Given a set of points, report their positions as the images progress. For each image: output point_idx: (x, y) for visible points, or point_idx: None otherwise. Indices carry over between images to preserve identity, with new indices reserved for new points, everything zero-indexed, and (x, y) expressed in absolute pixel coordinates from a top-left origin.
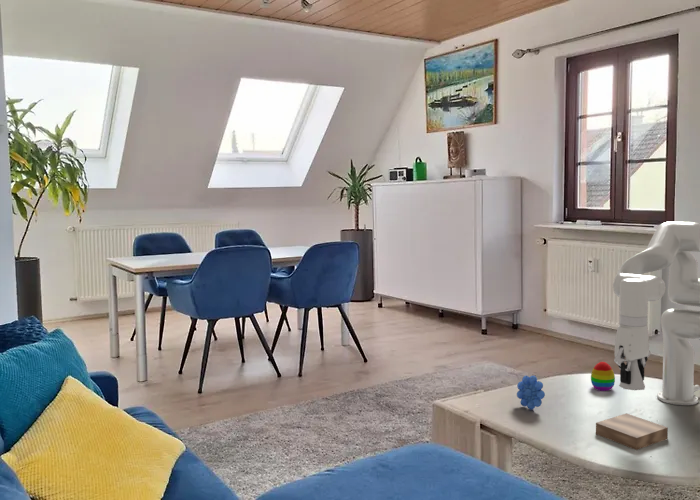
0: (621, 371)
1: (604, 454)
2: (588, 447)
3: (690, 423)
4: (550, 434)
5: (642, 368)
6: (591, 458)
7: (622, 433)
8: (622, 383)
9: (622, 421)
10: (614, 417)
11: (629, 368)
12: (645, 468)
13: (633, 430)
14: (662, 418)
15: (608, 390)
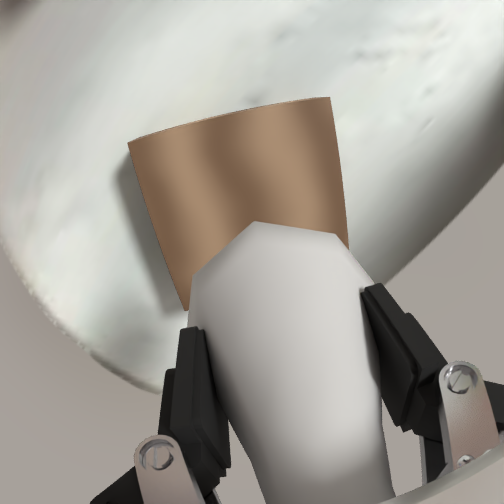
0: (160, 432)
1: (85, 282)
2: (63, 229)
3: (473, 187)
4: (9, 107)
5: (398, 424)
6: (46, 290)
7: (166, 261)
8: (197, 325)
9: (243, 167)
10: (244, 115)
11: (213, 495)
12: (144, 365)
13: None
14: (449, 120)
15: None
